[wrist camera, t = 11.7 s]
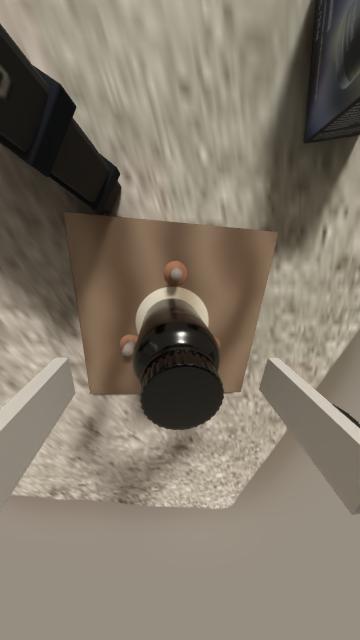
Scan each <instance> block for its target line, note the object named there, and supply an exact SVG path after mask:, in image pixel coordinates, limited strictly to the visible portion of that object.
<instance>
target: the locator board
mask: <svg viewBox="0 0 360 640" xmlns="http://www.w3.org/2000/svg"><path fill="white" fill-rule="evenodd" d="M63 213H64V219H65V226H66V233H67V240H68V246H69V253H70V260H71V267H72V274H73V280H74V287H75V294H76V301H77V307H78V314H79V321H80V328H81V334H82V341H83V348H84V355H85V361H86V368H87V375H88V382H89V389H90V394H115V393H141V384H140V383H139V382H138V380H137V378H136V376H135V373H134V370H133V364H132V359H133V352H134V348H135V345H136V342H137V339H138V335H139V332H140V329H141V326H142V323H143V320H144V317H145V315H146V313H147V311H148V310H149V309H150V307H151V306H153V305H154V304H155V303H157V302H158V301H161V300H163V299H168V298H176V299H181V300H183V301H185V302H187V303H189V304H190V305H191V306H192V307H193V308H194V309H195V310H196V312H197V313H198V314H199V316H200V317H201V319H202V320H203V322H204V323H205V324H206V326H207V327H208V329H209V330H210V332H211V333H212V334H213V336H214V338H215V339H216V341H217V343H218V346H219V349H220V356H221V359H220V367H219V370H218V374H219V377H220V379H221V381H222V383H223V388H224V392H241V388H242V384H243V379H244V375H245V371H246V367H247V363H248V358H249V354H250V350H251V346H252V342H253V338H254V333H255V329H256V325H257V321H258V317H259V313H260V308H261V304H262V300H263V296H264V292H265V288H266V283H267V279H268V275H269V271H270V267H271V263H272V258H273V254H274V250H275V246H276V242H277V238H278V233H279V232H272V231H262V230H251V229H241V228H230V227H219V226H209V225H198V224H188V223H177V222H166V221H156V220H145V219H135V218H124V217H113V216H103V215H92V214H82V213H71V212H63Z"/></svg>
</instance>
